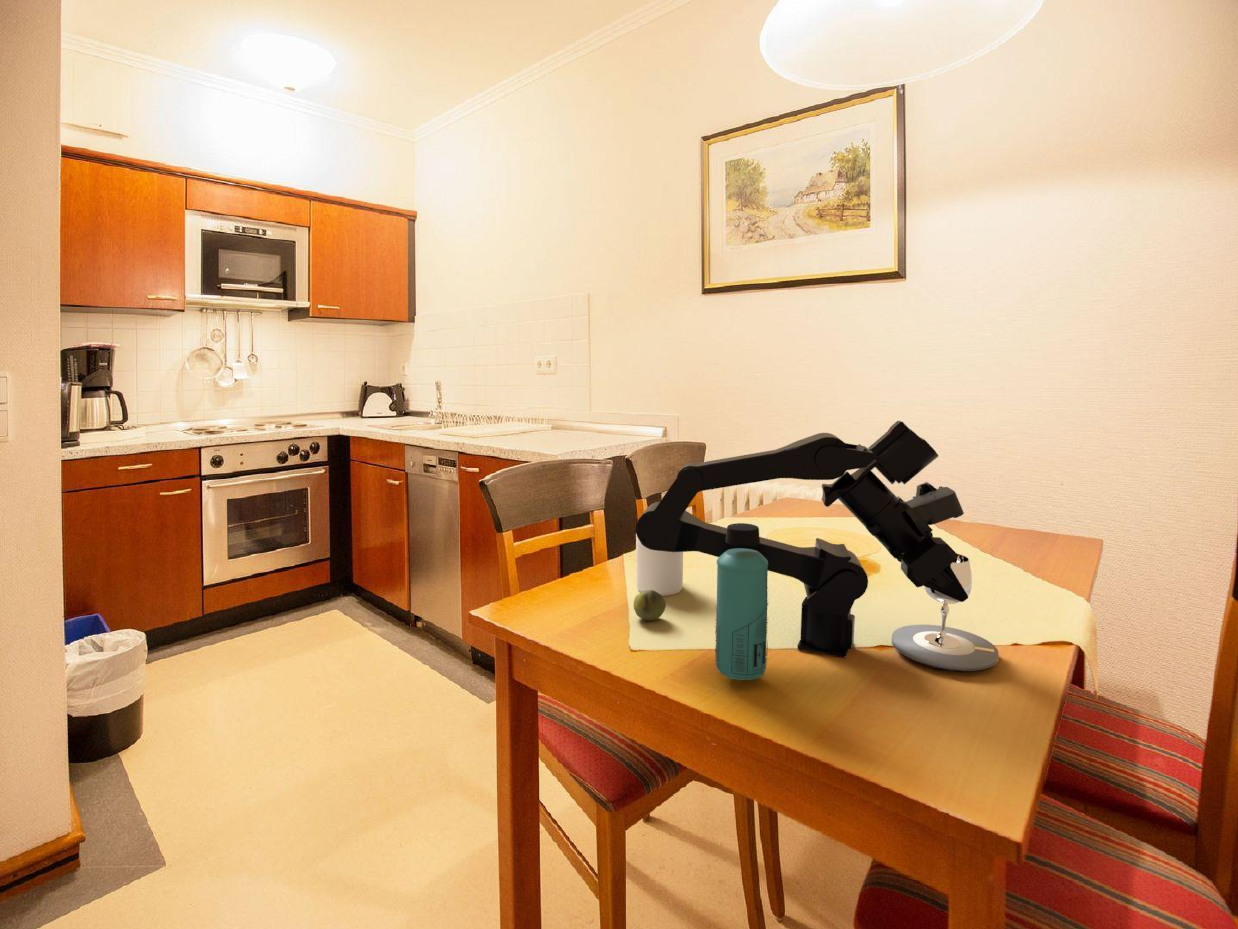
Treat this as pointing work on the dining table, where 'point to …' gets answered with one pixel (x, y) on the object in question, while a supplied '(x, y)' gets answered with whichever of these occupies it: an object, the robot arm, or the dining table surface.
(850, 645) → the robot arm
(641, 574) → the cup
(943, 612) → the wineglass
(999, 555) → the dining table surface
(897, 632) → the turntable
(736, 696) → the dining table surface
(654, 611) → the lime
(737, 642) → the beverage bottle
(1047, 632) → the dining table surface
